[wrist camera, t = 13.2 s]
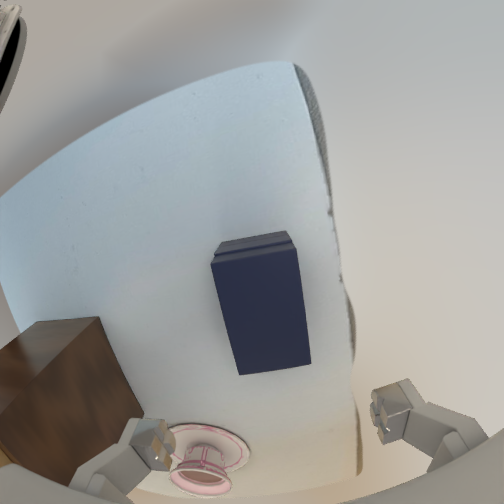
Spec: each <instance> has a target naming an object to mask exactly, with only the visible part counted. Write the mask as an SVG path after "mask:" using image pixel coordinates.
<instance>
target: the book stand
mask: <svg viewBox="0 0 504 504" xmlns="http://www.w3.org/2000/svg"><path fill="white" fill-rule="evenodd" d="M143 415H144V412H143V410H142V408H141V407H140V405H139V403H138V401H137V399H136V398H135V396H134V394H133V392H132V390H131V388H130V386H129V384H128V382H127V380H126V378H125V376H124V374H123V372H122V370H121V368H120V366H119V364H118V362H117V360H116V357H115V355H114V353H113V351H112V348H111V346H110V344H109V341H108V339H107V337H106V334H105V332H104V329H103V327H102V324H101V322H100V319H99V317H98V316H97V317H87V318H77V319H65V320H53V321H40V322H36V323H34V324H33V325H32V326H30V327H29V328H28V329H26V330H25V331H24V332H22V333H21V334H20V335H18V336H17V337H16V338H15V339H13V340H12V341H11V342H9V343H8V344H7V345H6V346H4V347H3V348H2V349H1V350H0V448H1V450H2V451H3V452H4V453H5V454H6V455H7V457H8V458H9V459H10V460H11V461H12V462H13V463H15V464H18V465H20V466H22V467H24V468H26V469H28V470H30V471H32V472H34V473H36V474H38V475H40V476H43V477H45V478H47V479H49V480H52V481H54V482H57V483H59V484H62V485H64V486H67V487H68V486H69V484H70V482H71V480H72V478H73V476H74V474H75V472H76V471H77V469H78V467H80V466H81V465H83V464H84V463H86V462H88V461H89V460H91V459H92V458H94V457H95V456H97V455H98V454H100V453H101V452H103V451H104V450H106V449H107V448H109V447H110V446H112V445H113V444H118V442H119V440H120V438H121V435H122V433H123V431H124V429H125V427H126V425H127V423H128V421H129V419H131V418H142V417H143Z"/></svg>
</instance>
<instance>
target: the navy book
mask: <svg viewBox="0 0 504 504" xmlns="http://www.w3.org/2000/svg"><path fill="white" fill-rule="evenodd" d="M211 269H212V273H213V277H214V281H215V285H216V289H217V293H218V297H219V301H220V305H221V309H222V313H223V317H224V321H225V325H226V329H227V333H228V336H229V340H230V344H231V348H232V351H233V355H234V359H235V362H236V366H237V369H238V373H239V375H247V374H254V373H262V372H268V371H275V370H281V369H287V368H293V367H298V366H304V365H309V364H311V355H310V347H309V338H308V330H307V322H306V314H305V306H304V299H303V291H302V284H301V277H300V270H299V264H298V257H297V251H296V248H295V246H294V244H293V243H292V242H289V243H283V244H278V245H272V246H267V247H261V248H256V249H250V250H245V251H239V252H234V253H228V254H223V255H217V256H215V257H214V259H213V260H212V262H211Z"/></svg>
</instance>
